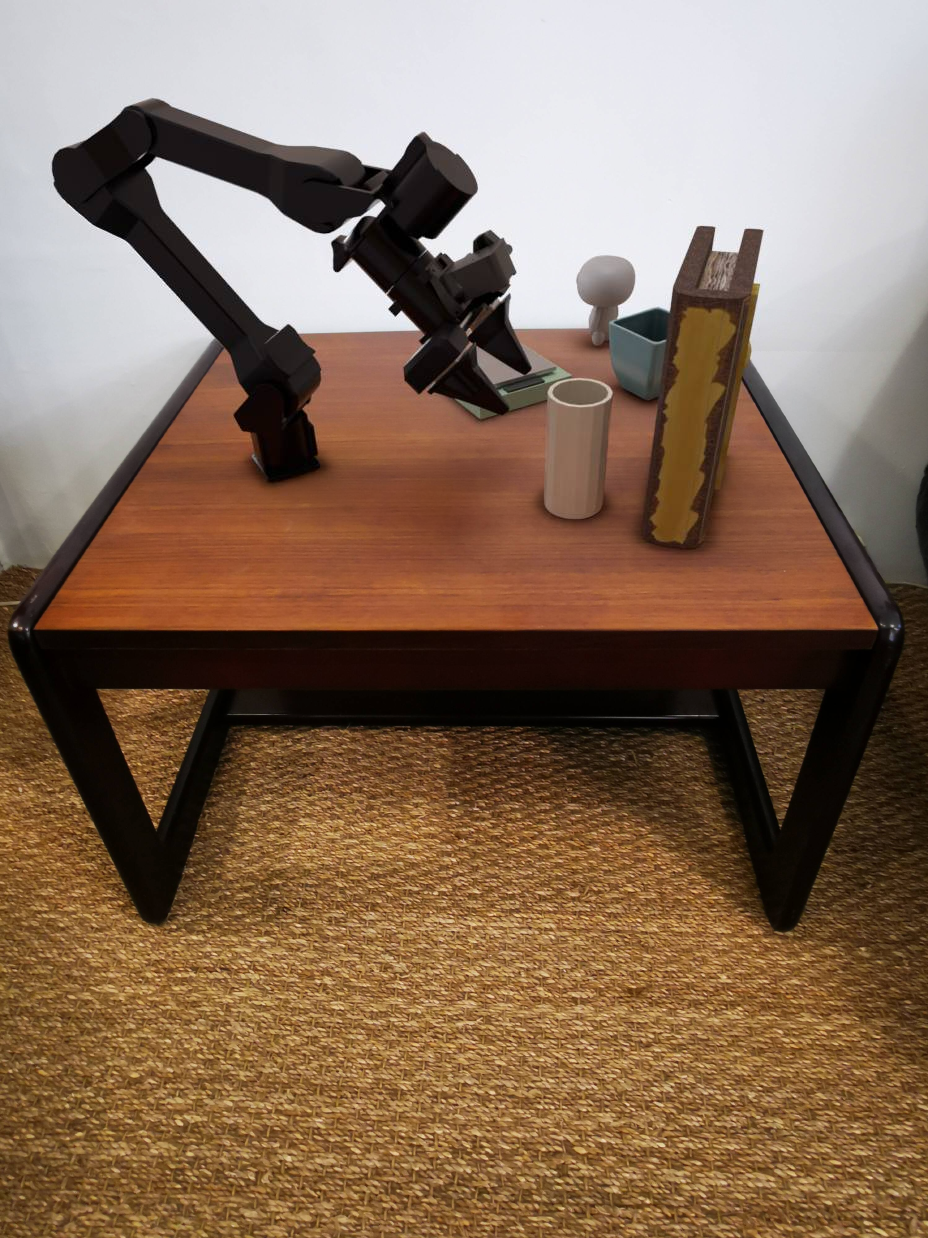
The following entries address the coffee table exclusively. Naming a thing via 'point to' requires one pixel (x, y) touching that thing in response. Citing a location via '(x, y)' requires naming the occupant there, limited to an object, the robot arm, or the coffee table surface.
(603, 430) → the cup
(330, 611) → the coffee table surface
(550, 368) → the scale pan
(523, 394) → the scale
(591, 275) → the figurine
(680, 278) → the book
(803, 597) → the coffee table surface
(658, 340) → the flower pot
